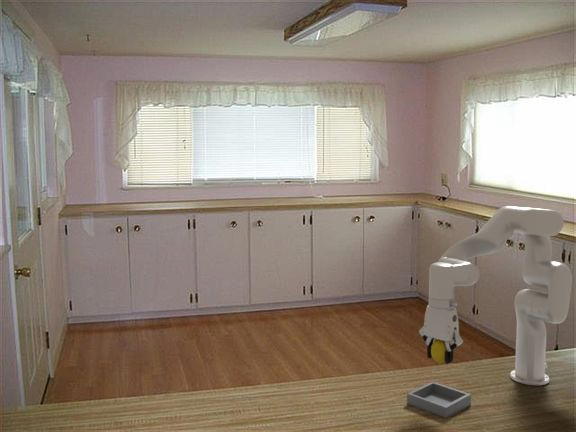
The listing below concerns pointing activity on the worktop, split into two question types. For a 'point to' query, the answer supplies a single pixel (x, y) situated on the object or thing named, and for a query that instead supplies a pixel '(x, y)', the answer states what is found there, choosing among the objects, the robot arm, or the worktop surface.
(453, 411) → the box
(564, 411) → the worktop surface
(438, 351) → the lemon
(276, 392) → the worktop surface
